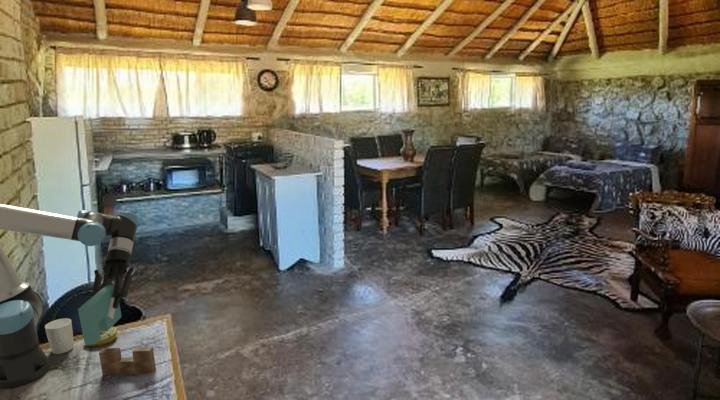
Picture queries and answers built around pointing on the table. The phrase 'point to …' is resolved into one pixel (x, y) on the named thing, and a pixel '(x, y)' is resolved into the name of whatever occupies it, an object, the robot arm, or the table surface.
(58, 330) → the white cup
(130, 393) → the table surface
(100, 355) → the walnut slotted plate
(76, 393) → the table surface
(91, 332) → the teal upright panel
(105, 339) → the decorated donut
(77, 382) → the table surface
